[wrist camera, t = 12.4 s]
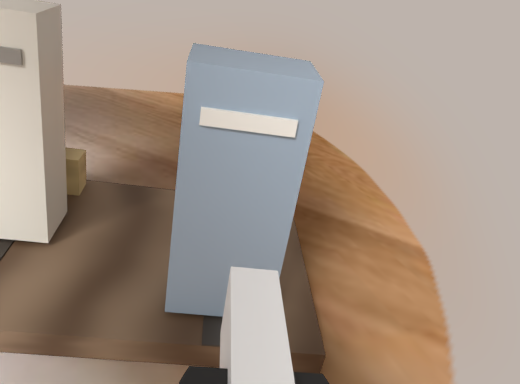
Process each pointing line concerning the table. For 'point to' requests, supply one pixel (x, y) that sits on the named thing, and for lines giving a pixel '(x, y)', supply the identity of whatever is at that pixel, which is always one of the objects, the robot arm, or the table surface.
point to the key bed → (124, 284)
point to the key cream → (31, 121)
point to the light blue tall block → (237, 169)
